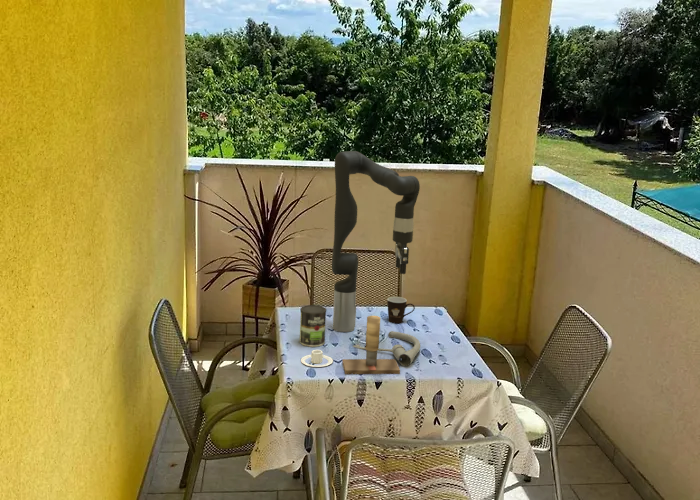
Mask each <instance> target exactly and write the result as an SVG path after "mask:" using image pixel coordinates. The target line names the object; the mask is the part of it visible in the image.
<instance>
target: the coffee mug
mask: <svg viewBox="0 0 700 500" xmlns="http://www.w3.org/2000/svg"><path fill="white" fill-rule="evenodd" d="M386 300H387V315H388V317H387V318H388V322H389V323H391V324H395V325H396V324H397V325H398V324H402V323H403V322H404V318H405V317H406V316H408V315H410V314H411V313H413V312H414V311H415V309H416V306H415V305H414V304H413V303H407V302H408V301H407V299H406V298H405V297H402V296H390V297H388V298H387V299H386ZM408 306H412V307H413V309H412V310H411V311H410V312H409V311H408V312H407V313H406V309H407V307H408ZM405 313H406V314H405Z"/></svg>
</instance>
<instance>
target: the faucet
mask: <svg viewBox="0 0 700 500" xmlns="http://www.w3.org/2000/svg"><path fill="white" fill-rule="evenodd" d="M387 336H388V338H389V339H397V340H403V341H407V342H409V343H411V344H413V347H412V348H410V349H408V350H406V349H405V347H404V346H403V345H402V344H395V345H393V346H392V348H379V350H378V351H379V352H388V353H392V354H393V356H394V357H395V359H396V361H398V363H399V365H401V366H403V367H409V366H410V365H411V364H412V362H413V361H414V360H415V358H416V356H417V354H418V353H419V352H420V350H421V341H419V339H418V338H417V337H415V336H413V335H411V334H408V333H405V332H401V331H400V332H399V331H394V330H391V331H389V332H388V334H387ZM352 347H353V348H355V349H358V350H363V351H366V349H365V348H366V346H365V347H364V346H361V345H359V344H356V345H352ZM378 351H377V352H378Z"/></svg>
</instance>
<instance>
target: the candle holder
mask: <svg viewBox="0 0 700 500" xmlns="http://www.w3.org/2000/svg"><path fill="white" fill-rule="evenodd" d="M309 358H310V359H311V360H310V362H311V363H312V364H310V363H307V362H306V361H307V359H309ZM323 359H325V360H327V362H326V363H324V364H323ZM300 362H301V363H302V364H304V365H306V366H308V367H313V368H321V367H327V366H329V365H331V364H333V362H334V360H333V358H332V357H330V356H328V355H325V354H323V351H322V350H321V349H313V350H311V353H310V354H307V355H305V356H303V357H301V359H300Z"/></svg>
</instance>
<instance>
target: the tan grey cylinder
mask: <svg viewBox="0 0 700 500" xmlns="http://www.w3.org/2000/svg"><path fill="white" fill-rule="evenodd" d="M365 332H366V334H365V347H366V348H365V349H366V350H365V354H366V355H365V359H366V365H367V366H376V365H377V359H378V350H379V345H380V332H381V317H380V316H378V315H368V316H366V331H365Z"/></svg>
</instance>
